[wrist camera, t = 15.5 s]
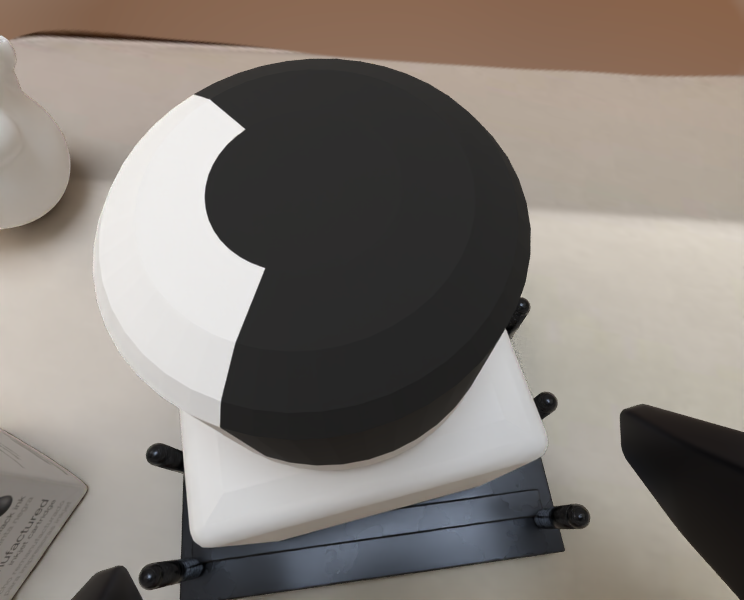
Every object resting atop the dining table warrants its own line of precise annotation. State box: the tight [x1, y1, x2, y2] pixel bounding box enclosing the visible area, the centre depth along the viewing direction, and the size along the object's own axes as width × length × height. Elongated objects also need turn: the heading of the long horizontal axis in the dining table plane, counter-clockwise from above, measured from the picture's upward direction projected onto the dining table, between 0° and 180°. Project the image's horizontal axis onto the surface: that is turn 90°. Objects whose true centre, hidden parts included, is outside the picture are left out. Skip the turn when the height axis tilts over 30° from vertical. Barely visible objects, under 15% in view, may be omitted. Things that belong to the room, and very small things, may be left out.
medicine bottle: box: [93, 59, 548, 548], centre depth 12 cm, size 7×7×12 cm
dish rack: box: [139, 297, 590, 600], centre depth 17 cm, size 12×11×5 cm
